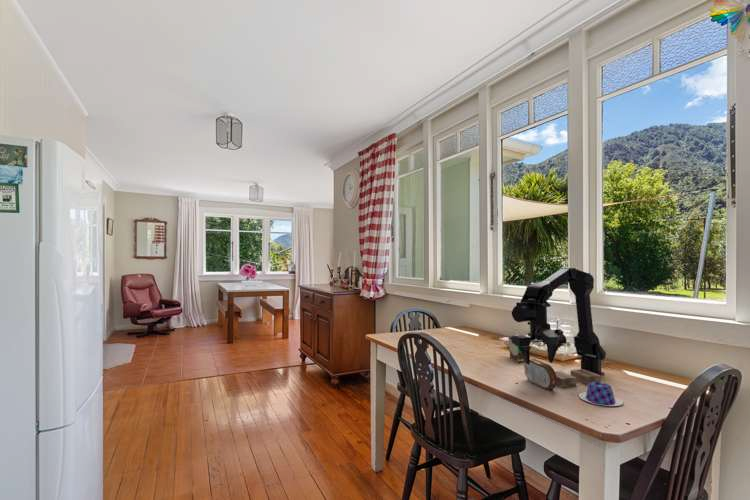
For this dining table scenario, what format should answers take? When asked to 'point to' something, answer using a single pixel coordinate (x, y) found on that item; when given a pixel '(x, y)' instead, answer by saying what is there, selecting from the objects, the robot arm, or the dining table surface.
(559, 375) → the slotted rail
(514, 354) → the food container
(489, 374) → the dining table surface
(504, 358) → the dining table surface
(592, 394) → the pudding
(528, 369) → the tin
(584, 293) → the robot arm
